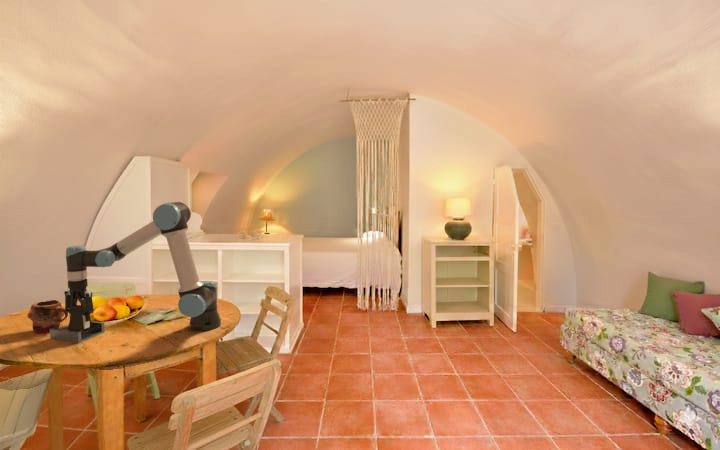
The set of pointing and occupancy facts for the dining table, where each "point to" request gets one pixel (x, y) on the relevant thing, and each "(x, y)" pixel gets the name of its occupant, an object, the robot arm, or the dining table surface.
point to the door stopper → (77, 319)
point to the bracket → (76, 333)
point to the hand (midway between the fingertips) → (80, 327)
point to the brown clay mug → (46, 316)
